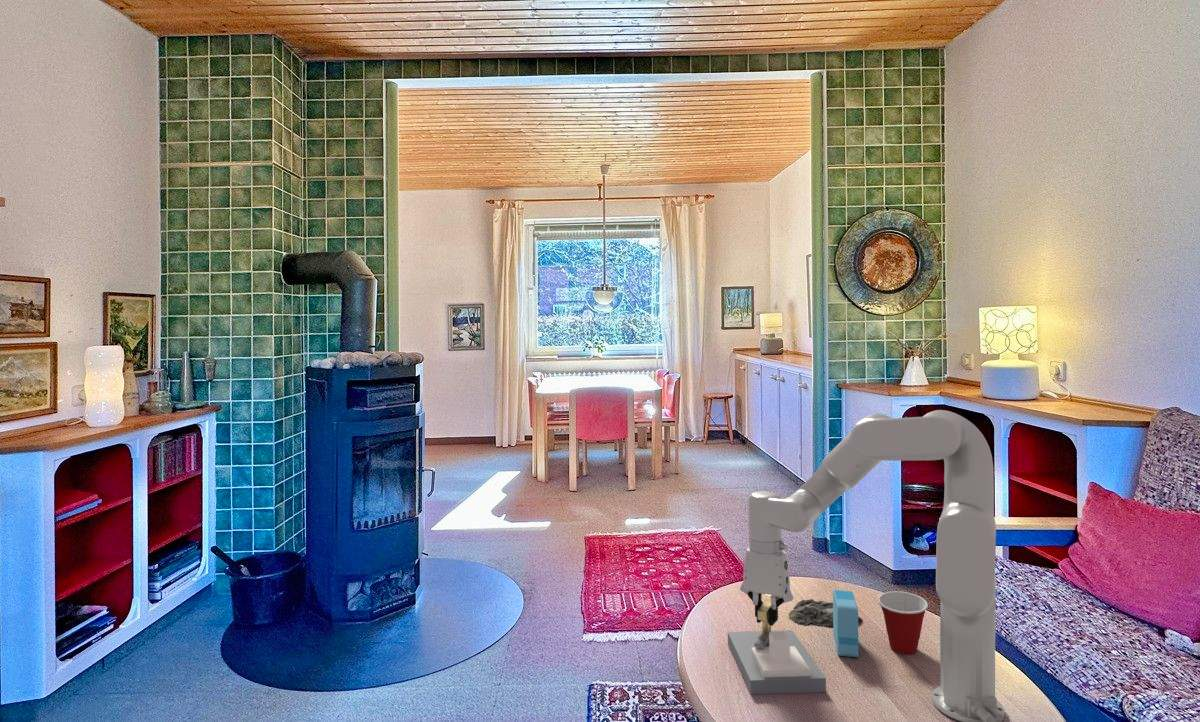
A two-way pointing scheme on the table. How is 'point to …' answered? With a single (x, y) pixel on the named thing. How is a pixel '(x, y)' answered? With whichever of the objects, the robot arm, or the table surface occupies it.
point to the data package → (845, 623)
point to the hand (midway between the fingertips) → (766, 621)
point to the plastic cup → (903, 619)
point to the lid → (780, 658)
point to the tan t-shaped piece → (764, 624)
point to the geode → (813, 613)
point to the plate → (773, 685)
